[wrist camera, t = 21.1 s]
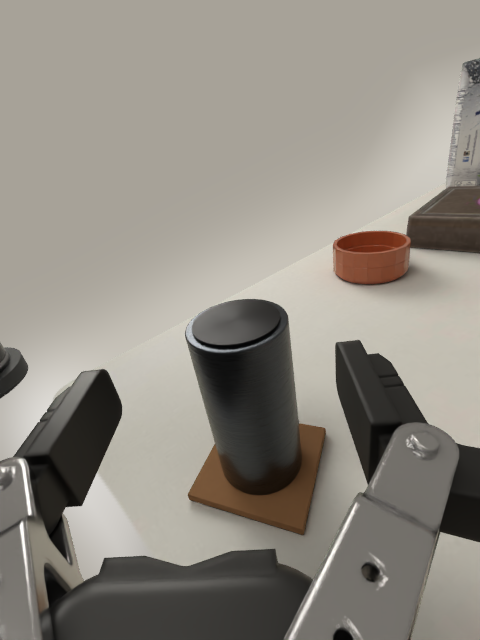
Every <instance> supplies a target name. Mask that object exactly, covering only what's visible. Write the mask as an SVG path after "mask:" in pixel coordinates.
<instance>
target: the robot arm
mask: <svg viewBox="0 0 480 640" xmlns="http://www.w3.org/2000/svg"><path fill="white" fill-rule="evenodd" d="M335 354H336V385H337V391H338V395H339V399H340V402H341V405H342V408H343V411H344V414H345V417H346V420H347V423H348V426H349V429H350V432H351V435H352V438H353V441H354V444H355V447H356V450H357V453H358V456H359V459H360V462H361V465H362V468H363V471H364V474H365V477H366V480H367V483H368V487H367V489H366V491H365V492H364V493H361V492H360V493H358V494H357V496H356V497H355V498H354V500H353V502H352V504H351V506H350V508H349V510H348V512H347V514H346V516H345V518H344V520H343V522H342V524H341V526H340V528H339V530H338V532H337V534H336V536H335V538H334V540H333V542H332V544H331V546H330V548H329V550H328V552H327V554H326V556H325V558H324V560H323V562H322V564H321V566H320V568H319V570H318V572H317V574H316V576H315V578H314V580H313V579H311V578H310V577H308V576H307V575H305V574H303V573H302V572H300V571H298V570H296V569H294V568H291V567H289V566H286V565H283V564H279V563H278V561H277V556H276V550H275V549H265V550H246V551H231V552H228V553H225V554H222V555H219V556H217V557H214V558H211V559H208V560H205V561H202V562H199V563H196V564H193V565H191V566H179V565H176V564H172V563H169V562H165V561H161V560H158V559H154V558H151V557H147V556H134V557H114V558H104V561H103V564H102V567H101V569H100V573H99V574H98V575H96V576H94V577H92V578H90V579H88V580H85V581H84V580H83V578H82V576H81V573H80V570H79V566H78V562H77V558H76V554H75V549H74V545H73V541H72V537H71V533H70V529H69V525H68V521H67V518H66V517H65V515H64V514H63V511H64V509H65V507H72V506H82V504H83V502H84V500H85V497H86V495H87V493H88V491H89V488H90V486H91V484H92V482H93V480H94V477H95V475H96V473H97V471H98V469H99V466H100V464H101V462H102V460H103V457H104V455H105V453H106V451H107V448H108V446H109V444H110V442H111V439H112V437H113V435H114V433H115V430H116V428H117V426H118V424H119V421H120V419H121V416H122V404H121V400H120V398H119V396H118V394H117V391H116V389H115V387H114V384H113V382H112V380H111V378H110V375H109V373H108V372H107V371H106V370H105V369H101V370H92V371H84V372H81V373H80V375H79V376H78V377H77V379H76V380H75V381H74V383H73V384H72V386H71V387H68V388H67V389H66V390H65V391H64V392H62V393H61V394H60V395H59V396H58V397H56V398H55V400H54V401H53V403H52V404H51V405H50V407H49V408H48V409H47V412H46V413H45V414H44V415H43V416H42V418H41V419H40V422H38V423H37V425H36V426H35V428H34V429H33V430H32V432H31V433H30V434H29V436H28V437H27V439H26V440H25V441H24V443H23V444H22V445H21V447H20V448H19V450H18V451H17V452H16V454H15V455H14V456H13V457H12V458H8V459H5V460H2V461H0V640H411V637H412V634H413V630H414V626H415V623H416V619H417V615H418V611H419V608H420V604H421V600H422V596H423V593H424V589H425V586H426V582H427V578H428V575H429V571H430V567H431V564H432V560H433V557H434V553H435V549H436V546H437V542H438V539H439V535H440V532H443V533H446V534H450V535H454V536H458V537H462V538H465V539H469V540H473V541H477V542H480V448H475V447H469V446H464V445H460V444H457V443H455V441H454V440H453V439H452V438H451V437H450V436H449V435H448V434H447V433H446V432H444V431H443V430H441V429H439V428H437V427H435V426H432V425H429V424H428V423H427V421H426V420H425V418H424V416H423V415H422V413H421V411H420V410H419V408H418V406H417V405H416V403H415V401H414V400H413V398H412V396H411V395H410V393H409V391H408V390H407V388H406V386H404V383H403V382H402V380H401V378H400V377H399V376H398V373H397V372H396V370H395V368H394V367H393V365H392V363H391V362H390V361H388V360H387V359H386V358H384V357H383V356H381V355H380V354H379V353H377V354H368V355H367V353H366V351H365V349H364V347H363V345H362V343H361V341H360V340H355V341H346V342H337V343H336V346H335ZM9 362H10V356H9V354H8V353H7V351H6V350H5V349H4V348H3V346H2V345H1V343H0V372H2V371H3V370H4V369H5V368H6V366H7V365H8V364H9Z"/></svg>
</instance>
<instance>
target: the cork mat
mask: <svg viewBox="0 0 480 640" xmlns="http://www.w3.org/2000/svg"><path fill="white" fill-rule="evenodd" d="M299 432H300V442H301V452H302V463H301V467H300V470H299V472H298V474H297V476H296V477H295V479H294V480H293V481H292V482H291V483H290V484H289V485H288V486H286V487H285V488H283V489H282V490H280V491H277V492H275V493H272V494H267V495H252V494H247V493H244V492H242V491H240V490H238V489H236V488H235V487H234V486H232V485H231V484H230V483H229V482H228V480H227V479H226V477H225V475H224V473H223V470H222V466H221V463H220V459H219V455H218V452H217V448H216V445H214V446H213V448H212V450H211V452H210V454H209V456H208V458H207V460H206V461H205V463H204V465H203V467H202V469H201V471H200V473H199V474H198V476H197V478H196V480H195V482H194V484H193V486H192V487H191V489H190V491H189V493H188V497H189V499H190V500H192V501H195V502H199V503H202V504H205V505H208V506H211V507H215V508H218V509H221V510H224V511H227V512H231V513H234V514H237V515H240V516H243V517H247V518H250V519H253V520H256V521H260V522H263V523H266V524H269V525H272V526H276V527H279V528H282V529H285V530H288V531H292V532H295V533H298V534H301V535H303V534H304V531H305V526H306V521H307V517H308V512H309V508H310V503H311V498H312V494H313V489H314V485H315V480H316V475H317V471H318V466H319V462H320V457H321V452H322V448H323V443H324V439H325V434H326V431H325V428H322V427H316V426H311V425H305V424H300V423H299Z"/></svg>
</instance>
